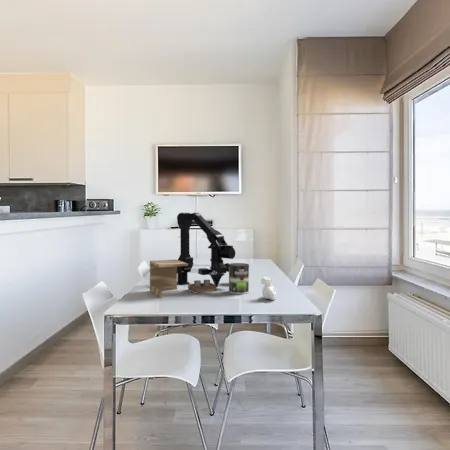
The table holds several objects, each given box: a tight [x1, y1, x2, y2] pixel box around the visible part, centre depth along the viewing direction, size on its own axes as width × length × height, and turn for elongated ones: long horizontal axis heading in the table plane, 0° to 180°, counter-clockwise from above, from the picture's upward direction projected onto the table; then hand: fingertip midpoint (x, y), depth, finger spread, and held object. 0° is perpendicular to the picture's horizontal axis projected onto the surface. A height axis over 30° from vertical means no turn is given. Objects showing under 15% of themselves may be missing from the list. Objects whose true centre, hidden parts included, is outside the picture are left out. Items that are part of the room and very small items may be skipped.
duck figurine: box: [260, 276, 278, 301], centre depth 183 cm, size 12×8×11 cm
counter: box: [149, 259, 188, 299], centre depth 194 cm, size 18×14×15 cm
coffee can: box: [228, 262, 250, 295], centre depth 198 cm, size 10×10×14 cm
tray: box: [187, 279, 217, 293], centre depth 202 cm, size 9×12×5 cm
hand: (216, 287), depth 206 cm, fingers closed
